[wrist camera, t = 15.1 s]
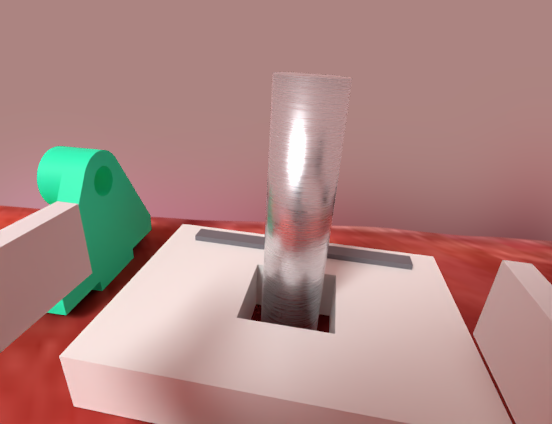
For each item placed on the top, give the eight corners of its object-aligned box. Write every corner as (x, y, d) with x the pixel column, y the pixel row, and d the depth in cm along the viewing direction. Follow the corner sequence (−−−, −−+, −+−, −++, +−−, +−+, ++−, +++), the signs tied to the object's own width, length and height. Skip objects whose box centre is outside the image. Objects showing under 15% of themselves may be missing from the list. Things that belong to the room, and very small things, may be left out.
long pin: (325, 350, 22) (368, 79, 15) (273, 367, 20) (295, 77, 13) (298, 313, 24) (324, 73, 18) (251, 326, 23) (260, 71, 16)
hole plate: (422, 293, 27) (434, 252, 26) (493, 495, 15) (526, 439, 13) (185, 259, 30) (182, 219, 28) (73, 406, 17) (57, 350, 16)
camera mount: (79, 230, 34) (56, 126, 29) (152, 239, 33) (141, 133, 29) (-37, 312, 23) (-98, 166, 19) (69, 328, 22) (30, 179, 18)
